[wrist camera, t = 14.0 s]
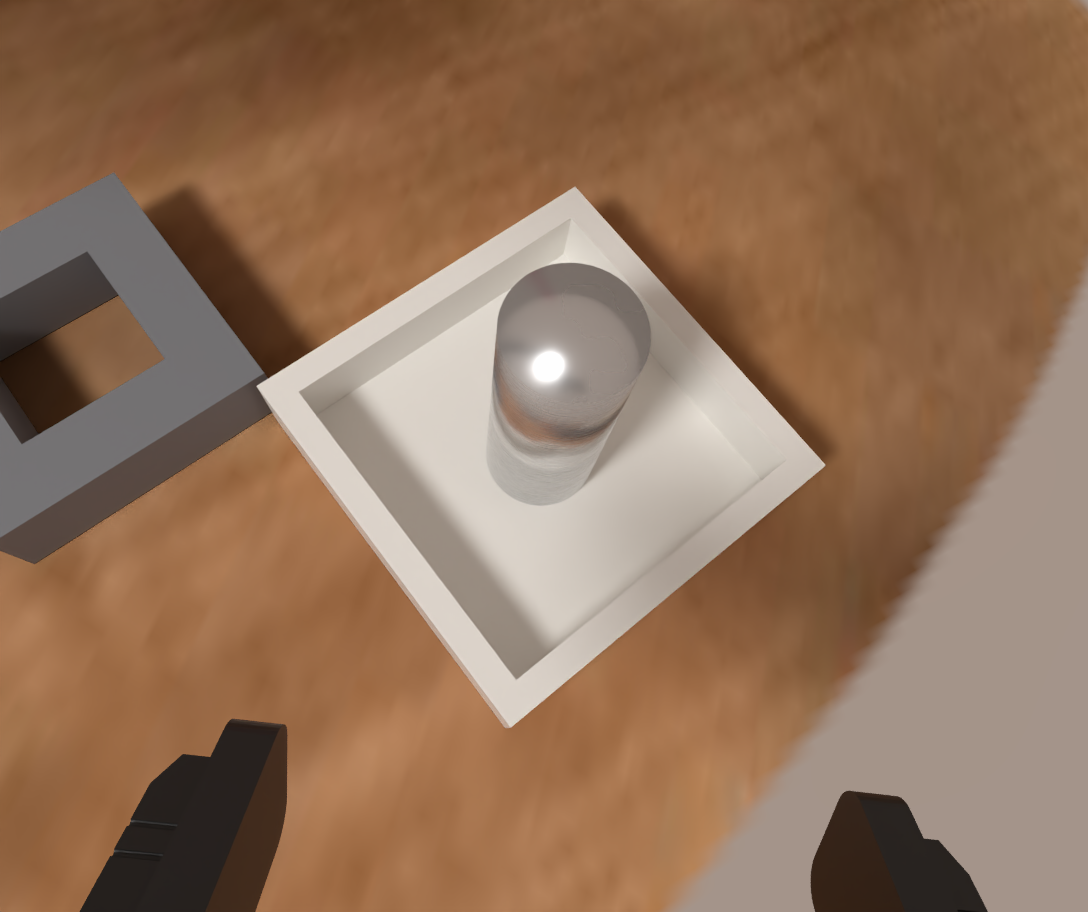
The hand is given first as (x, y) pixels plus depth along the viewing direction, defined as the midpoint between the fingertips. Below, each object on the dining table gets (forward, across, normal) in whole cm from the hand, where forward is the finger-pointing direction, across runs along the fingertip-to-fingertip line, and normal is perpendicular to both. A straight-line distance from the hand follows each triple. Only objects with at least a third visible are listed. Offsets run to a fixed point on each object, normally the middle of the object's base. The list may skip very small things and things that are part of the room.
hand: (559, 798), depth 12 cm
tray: (+20, 0, +4) cm, 20 cm away
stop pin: (+19, 0, +4) cm, 19 cm away
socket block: (+20, +17, +4) cm, 27 cm away
